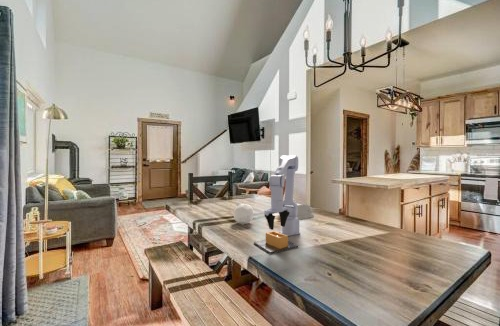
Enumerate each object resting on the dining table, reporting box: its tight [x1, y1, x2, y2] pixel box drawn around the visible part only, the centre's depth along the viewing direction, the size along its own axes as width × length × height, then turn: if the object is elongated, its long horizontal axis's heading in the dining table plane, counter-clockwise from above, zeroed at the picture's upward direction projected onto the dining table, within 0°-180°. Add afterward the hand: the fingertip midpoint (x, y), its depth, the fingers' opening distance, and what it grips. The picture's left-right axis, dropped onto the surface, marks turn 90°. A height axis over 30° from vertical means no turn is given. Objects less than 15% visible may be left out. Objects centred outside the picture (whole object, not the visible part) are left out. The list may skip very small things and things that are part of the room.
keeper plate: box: [253, 236, 299, 255], centre depth 124 cm, size 16×15×6 cm
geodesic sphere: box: [232, 202, 255, 226], centre depth 164 cm, size 14×14×14 cm
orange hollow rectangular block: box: [265, 230, 289, 249], centre depth 123 cm, size 5×10×5 cm, turn 37°
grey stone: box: [297, 204, 315, 220], centre depth 179 cm, size 17×5×10 cm, turn 118°
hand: (277, 227), depth 122 cm, fingers open, 7 cm apart
